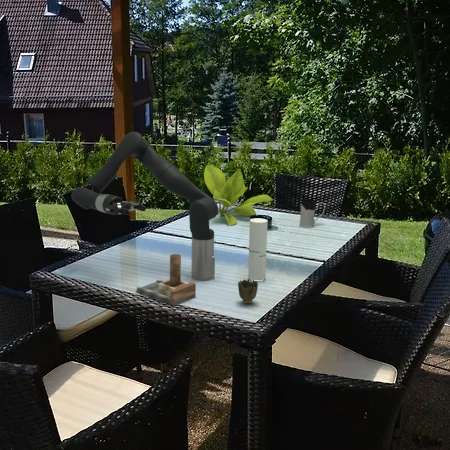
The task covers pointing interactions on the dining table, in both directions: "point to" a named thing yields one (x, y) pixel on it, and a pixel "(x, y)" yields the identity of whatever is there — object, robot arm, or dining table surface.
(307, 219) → the grey mug
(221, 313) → the dining table surface
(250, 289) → the cup
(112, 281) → the dining table surface
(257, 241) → the cylindrical container
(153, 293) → the rail board
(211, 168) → the artificial plant
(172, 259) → the dowel
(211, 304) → the dining table surface
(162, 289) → the sliding block
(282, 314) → the dining table surface
